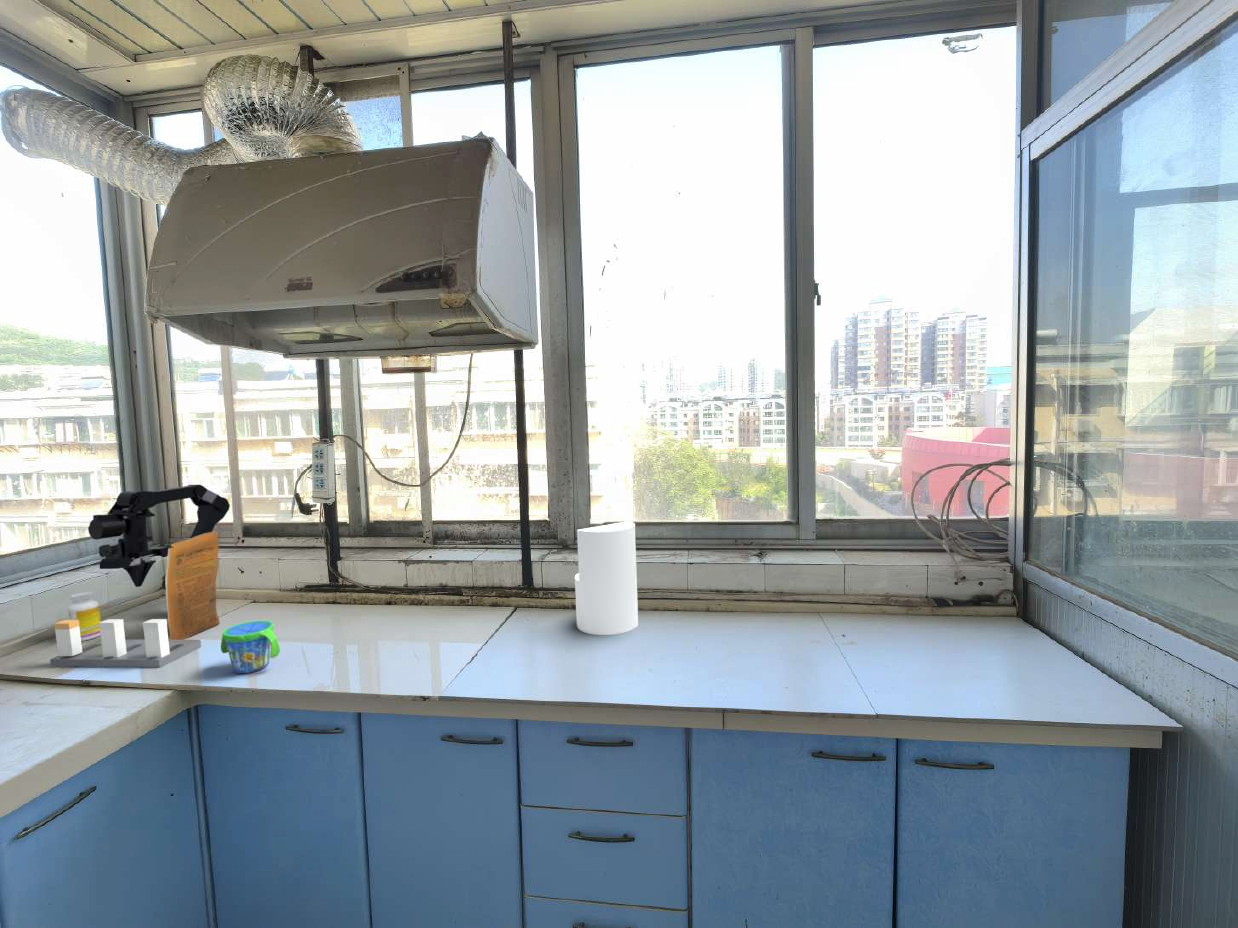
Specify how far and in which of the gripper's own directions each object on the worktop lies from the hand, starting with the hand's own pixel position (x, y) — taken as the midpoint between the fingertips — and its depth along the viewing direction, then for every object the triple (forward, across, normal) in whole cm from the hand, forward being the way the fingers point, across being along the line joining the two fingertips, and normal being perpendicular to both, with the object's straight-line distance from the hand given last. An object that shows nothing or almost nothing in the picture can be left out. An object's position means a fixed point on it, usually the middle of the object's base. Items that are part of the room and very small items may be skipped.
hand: (138, 586), depth 175 cm
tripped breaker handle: (+12, +23, +1) cm, 26 cm away
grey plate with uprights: (+14, +19, +13) cm, 27 cm away
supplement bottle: (+14, +5, -12) cm, 19 cm away
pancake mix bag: (+13, +2, +19) cm, 23 cm away
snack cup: (+14, +28, +52) cm, 61 cm away
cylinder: (+12, +3, +138) cm, 139 cm away
